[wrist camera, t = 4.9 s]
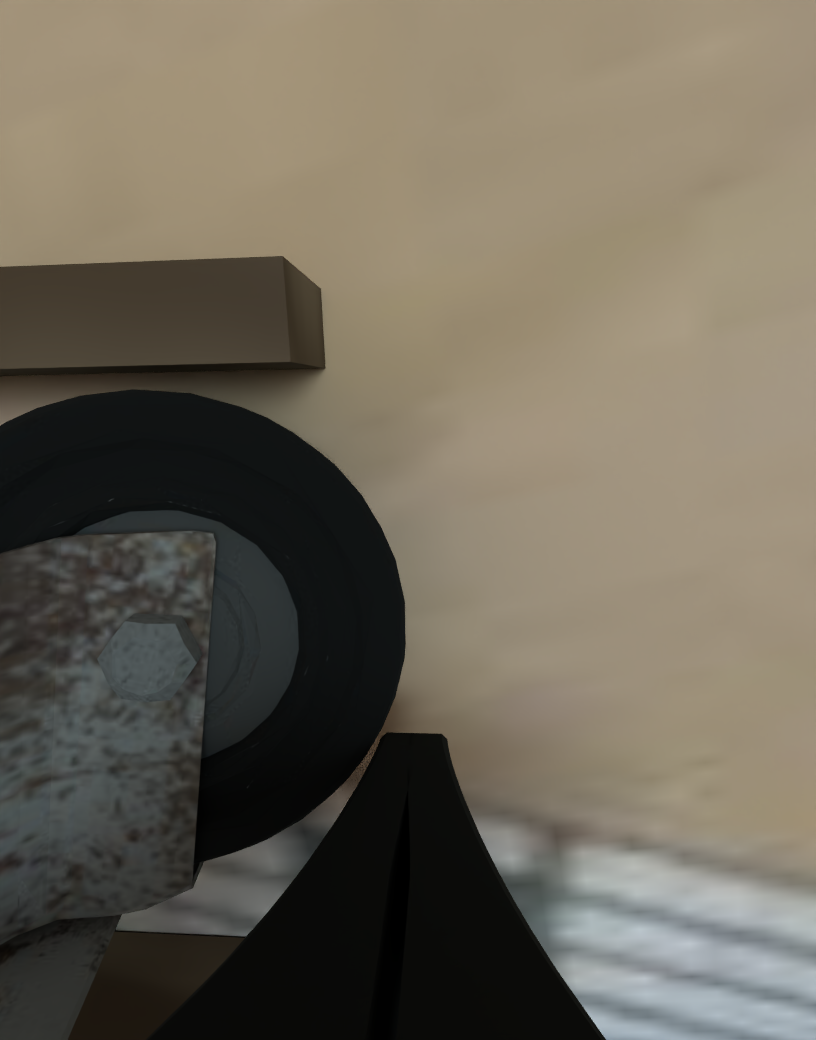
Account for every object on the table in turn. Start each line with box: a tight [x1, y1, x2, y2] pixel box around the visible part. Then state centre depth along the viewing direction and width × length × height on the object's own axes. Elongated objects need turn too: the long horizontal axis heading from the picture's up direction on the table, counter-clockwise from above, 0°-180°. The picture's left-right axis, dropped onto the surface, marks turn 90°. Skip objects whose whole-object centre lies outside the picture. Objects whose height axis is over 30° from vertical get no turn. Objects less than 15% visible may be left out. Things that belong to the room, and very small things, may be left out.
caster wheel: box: [0, 390, 406, 1040], centre depth 9 cm, size 7×11×10 cm
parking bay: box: [0, 256, 325, 1040], centre depth 11 cm, size 18×14×4 cm
